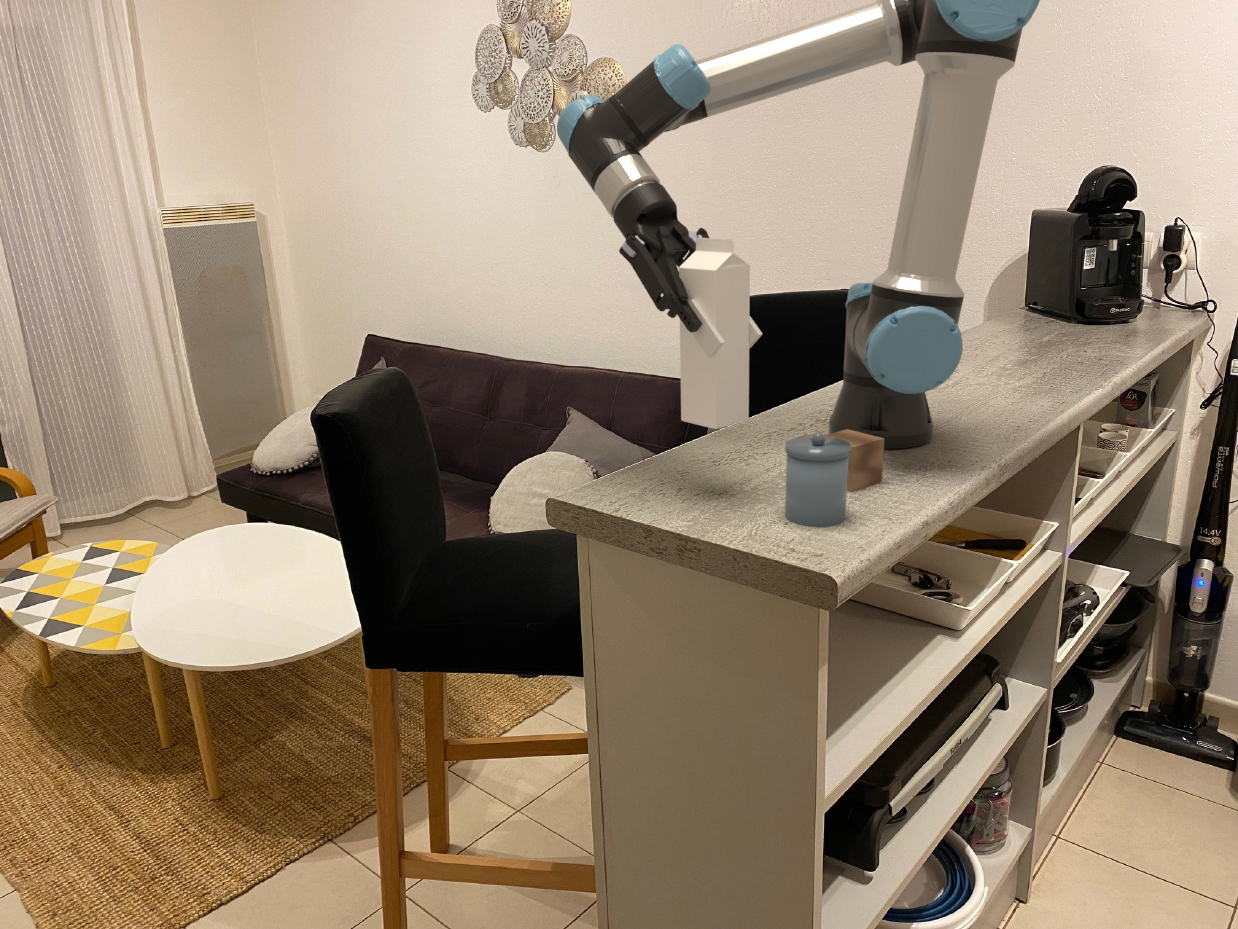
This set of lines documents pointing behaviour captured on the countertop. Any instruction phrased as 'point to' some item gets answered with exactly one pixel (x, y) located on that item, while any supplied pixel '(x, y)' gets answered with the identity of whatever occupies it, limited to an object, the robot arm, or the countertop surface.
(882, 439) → the walnut block
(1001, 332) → the countertop surface
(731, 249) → the milk
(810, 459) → the slate jar
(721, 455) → the countertop surface
